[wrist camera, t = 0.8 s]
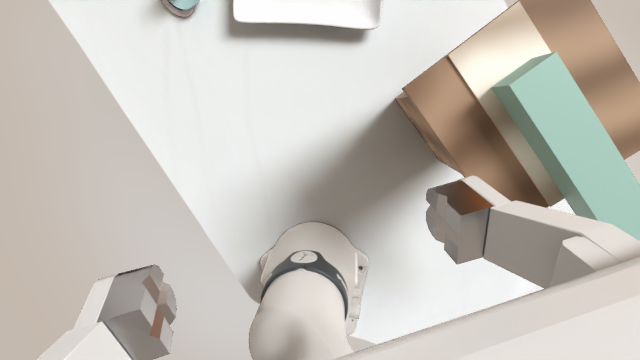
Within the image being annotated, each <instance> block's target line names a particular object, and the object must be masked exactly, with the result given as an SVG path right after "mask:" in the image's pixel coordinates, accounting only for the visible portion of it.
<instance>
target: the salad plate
mask: <svg viewBox="0 0 640 360" xmlns="http://www.w3.org/2000/svg"><path fill="white" fill-rule="evenodd" d="M382 5H383V0H233V16H234V19H235V20H236V21H237V22H240V23H282V24H308V25H323V26H333V27H342V28H350V29H375V28H377V27H378V26H379V24H380V20H381V14H382Z"/></svg>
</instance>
